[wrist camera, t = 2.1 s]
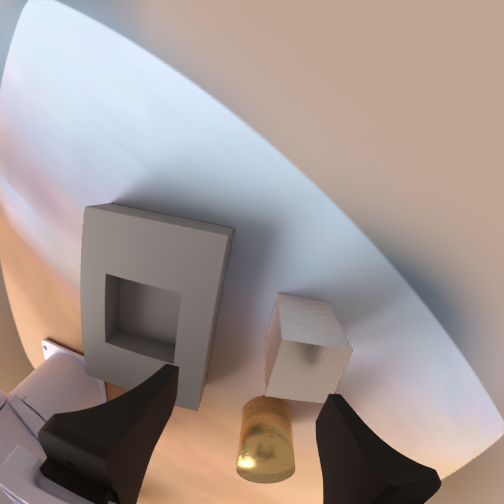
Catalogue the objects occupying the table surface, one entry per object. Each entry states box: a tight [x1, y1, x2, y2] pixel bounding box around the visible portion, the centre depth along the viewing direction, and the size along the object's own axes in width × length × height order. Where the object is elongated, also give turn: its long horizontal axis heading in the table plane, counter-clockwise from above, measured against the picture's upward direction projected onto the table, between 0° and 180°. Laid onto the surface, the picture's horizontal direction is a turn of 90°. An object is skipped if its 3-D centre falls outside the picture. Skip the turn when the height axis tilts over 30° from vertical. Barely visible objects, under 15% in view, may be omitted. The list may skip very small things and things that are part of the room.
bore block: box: [81, 203, 234, 411], centre depth 20 cm, size 14×10×4 cm
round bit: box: [236, 396, 295, 483], centre depth 20 cm, size 4×4×7 cm
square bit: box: [265, 293, 353, 403], centre depth 18 cm, size 4×4×7 cm
